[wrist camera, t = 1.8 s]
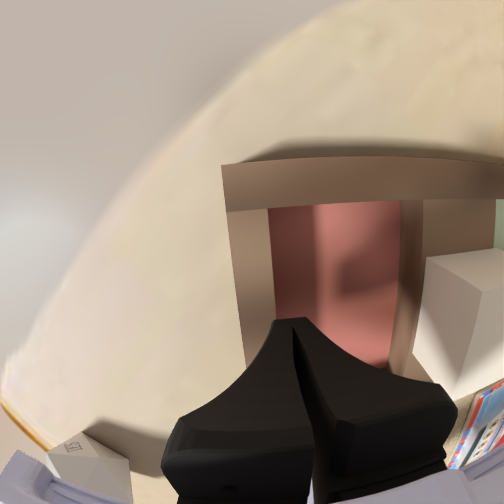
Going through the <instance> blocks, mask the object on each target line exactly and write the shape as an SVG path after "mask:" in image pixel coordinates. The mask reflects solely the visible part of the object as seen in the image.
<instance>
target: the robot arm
mask: <svg viewBox="0 0 504 504" xmlns="http://www.w3.org/2000/svg"><path fill="white" fill-rule="evenodd" d="M457 416H458V409H457V407H456V405H455V404H454V402H453V401H452V399H451V398H450V396H449V395H448V393H447V392H446V391H445V390H444V388H443V387H442V386H441V385H440V384H438V383H431V382H425V381H419V380H414V379H409V378H406V377H402V376H399V375H395V374H392V373H389V372H386V371H384V370H381V369H379V368H377V367H374V366H372V365H370V364H368V363H365V362H363V361H362V360H360V359H358V358H356V357H354V356H353V355H351V354H349V353H348V352H346V351H345V350H343V349H342V348H341V347H339V346H338V345H336V344H335V343H334V342H333V341H331V340H330V339H329V338H328V337H327V336H326V335H324V334H323V333H322V332H321V331H320V330H319V329H318V328H317V327H316V326H315V325H314V324H313V323H312V322H311V321H310V320H309V319H308V318H307V317H297V318H287V319H276V320H273V321H272V323H271V328H270V330H269V333H268V335H267V338H266V340H265V341H264V343H263V345H262V347H261V349H260V351H259V352H258V354H257V355H256V357H255V358H254V360H253V361H252V362H251V364H250V365H249V366H248V368H247V369H246V370H245V371H244V372H243V374H242V375H241V376H240V377H239V378H238V379H237V380H236V381H235V382H234V383H233V384H232V385H231V386H230V387H228V388H227V389H226V390H225V391H224V392H222V393H221V394H220V395H218V396H217V397H216V398H214V399H213V400H211V401H210V402H208V403H207V404H205V405H203V406H202V407H200V408H198V409H196V410H194V411H192V412H190V413H189V414H187V415H185V416H183V417H180V418H179V419H178V421H177V423H176V425H175V427H174V429H173V431H172V433H171V435H170V437H169V439H168V442H167V445H166V448H165V451H164V455H163V458H162V462H161V469H162V471H163V474H164V475H165V477H166V478H167V480H168V481H169V482H170V484H171V485H172V487H173V488H174V489H175V491H176V492H177V493H178V495H179V497H178V501H177V504H504V443H503V444H501V445H500V446H498V447H496V448H495V449H493V450H492V451H490V452H488V453H487V454H485V455H483V456H482V457H480V458H478V459H476V460H475V461H473V462H471V463H469V464H467V465H465V466H463V467H461V468H459V469H448V468H447V466H446V464H445V462H444V459H445V458H446V452H445V450H444V448H443V444H444V443H445V441H446V439H447V437H448V436H449V434H450V432H451V430H452V428H453V427H454V424H455V422H456V419H457ZM0 503H1V504H133V503H129V502H126V501H122V500H118V499H115V498H112V497H108V496H105V495H102V494H99V493H96V492H93V491H90V490H88V489H85V488H82V487H80V486H77V485H75V484H72V483H70V482H67V481H65V480H63V479H60V478H58V477H56V476H54V475H53V473H52V472H51V471H50V470H49V469H48V468H47V467H46V466H45V465H44V464H43V463H41V462H40V461H39V460H37V459H36V458H34V457H32V456H30V455H28V454H26V453H24V452H22V451H20V450H17V451H16V452H15V453H14V455H13V456H12V458H11V459H10V461H9V462H8V464H7V465H6V467H5V468H4V470H3V471H2V473H1V474H0Z"/></svg>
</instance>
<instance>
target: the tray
mask: <svg viewBox="0 0 504 504" xmlns="http://www.w3.org/2000/svg"><path fill="white" fill-rule="evenodd" d="M221 169H222V178H223V187H224V196H225V205H226V214H227V223H228V231H229V240H230V248H231V256H232V265H233V273H234V281H235V288H236V296H237V304H238V311H239V319H240V326H241V333H242V341H243V348H244V355H245V362H246V369H247V368H248V366H249V365H250V364H251V362H252V361H253V360H254V358H255V357H256V355H257V354H258V352H259V351H260V349H261V347H262V345H263V343H264V341H265V340H266V338H267V335H268V333H269V330H270V328H271V323H272V321H273V320H276V319H287V318H297V317H307V318H308V319H309V320H310V321H311V322H312V323H313V324H314V325H315V326H316V327H317V328H318V329H319V330H320V331H321V332H322V333H323V334H324V335H326V336H327V337H328V338H329V339H330V340H331V341H333V342H334V343H335V344H336V345H338V346H339V347H341V348H342V349H343V350H345V351H346V352H348V353H349V354H351V355H353V356H354V357H356V358H358V359H360V360H362V361H363V362H365V363H368V364H370V365H372V366H374V367H377V368H379V369H381V370H384V371H386V372H389V373H392V374H395V375H399V376H402V377H406V378H409V379H414V380H419V381H425V382H431V383H434V382H433V380H432V379H431V378H430V376H429V375H428V374H427V372H426V371H425V369H424V368H423V367H422V365H421V364H420V363H419V361H418V360H417V359H416V357H415V356H414V355H413V353H412V352H413V347H414V342H415V337H416V332H417V326H418V321H419V314H420V308H421V301H422V293H423V285H424V276H425V265H426V257H433V256H441V255H449V254H456V253H464V252H471V251H478V250H485V249H492V248H497V249H500V250H502V251H504V165H498V164H491V163H483V162H474V161H464V160H453V159H440V158H424V157H399V156H337V157H311V158H294V159H279V160H267V161H256V162H246V163H236V164H228V165H221Z"/></svg>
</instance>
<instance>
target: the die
mask: <svg viewBox="0 0 504 504" xmlns="http://www.w3.org/2000/svg"><path fill="white" fill-rule="evenodd" d="M46 461H47V468H48V469H49V470H50V471H51V472H52V473H53V475H54V476H56V477H58V478H60V479H63V480H65V481H67V482H70V483H72V484H75V485H77V486H80V487H82V488H85V489H88V490H90V491H93V492H96V493H99V494H102V495H105V496H108V497H112V498H115V499H118V500H122V501H126V502H129V503H133V495H132V486H131V477H130V466H129V459H127V458H125V457H124V456H122V455H120V454H118V453H116V452H114V451H112V450H111V449H109V448H107V447H105V446H104V445H102V444H100V443H99V442H97V441H95V440H94V439H92V438H90V437H89V436H87V435H86V434H84V433H83V432H80V433H79V434H77V435H75V436H74V437H72V438H70V439H69V440H67V441H65V442H63V443H62V444H60V445H58V446H57V447H55V448H53V449H51V450H50V451H48V452H46Z"/></svg>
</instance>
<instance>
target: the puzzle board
mask: <svg viewBox="0 0 504 504" xmlns="http://www.w3.org/2000/svg"><path fill="white" fill-rule="evenodd" d="M503 443H504V378H502V379H500V380H498V381H496V382H494V383H492V384H490V385H488V386H486V387H484V388H482V389H480V390H478V391H477V392H476V393H475V395H474V398H473V401H472V404H471V406H470V409H469V412H468V415H467V417H466V420H465V423H464V425H463V428H462V430H461V433H460V435H459V437H458V440H457V442H456V444H455V447H454V449H453V451H452V453H451V455H450V457H449V459H448V461H447V463H446V466H447V468H448V469H459V468H461V467H463V466H465V465H467V464H469V463H471V462H473V461H475V460H476V459H478V458H480V457H482V456H483V455H485V454H487V453H488V452H490V451H492V450H493V449H495V448H496V447H498V446H500V445H501V444H503Z"/></svg>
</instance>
